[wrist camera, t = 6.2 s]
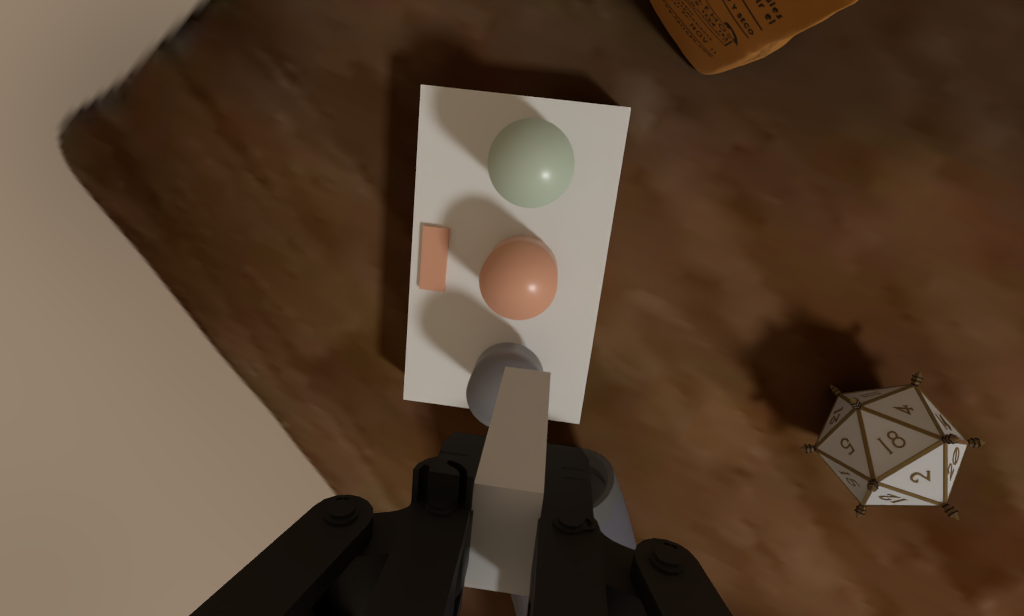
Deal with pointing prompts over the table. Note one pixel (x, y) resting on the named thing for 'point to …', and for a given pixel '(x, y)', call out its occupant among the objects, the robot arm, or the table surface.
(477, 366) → the charcoal button
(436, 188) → the console
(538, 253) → the terracotta button
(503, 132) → the sage button
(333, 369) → the table surface
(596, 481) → the bluetooth speaker
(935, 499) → the game die
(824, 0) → the coffee package
